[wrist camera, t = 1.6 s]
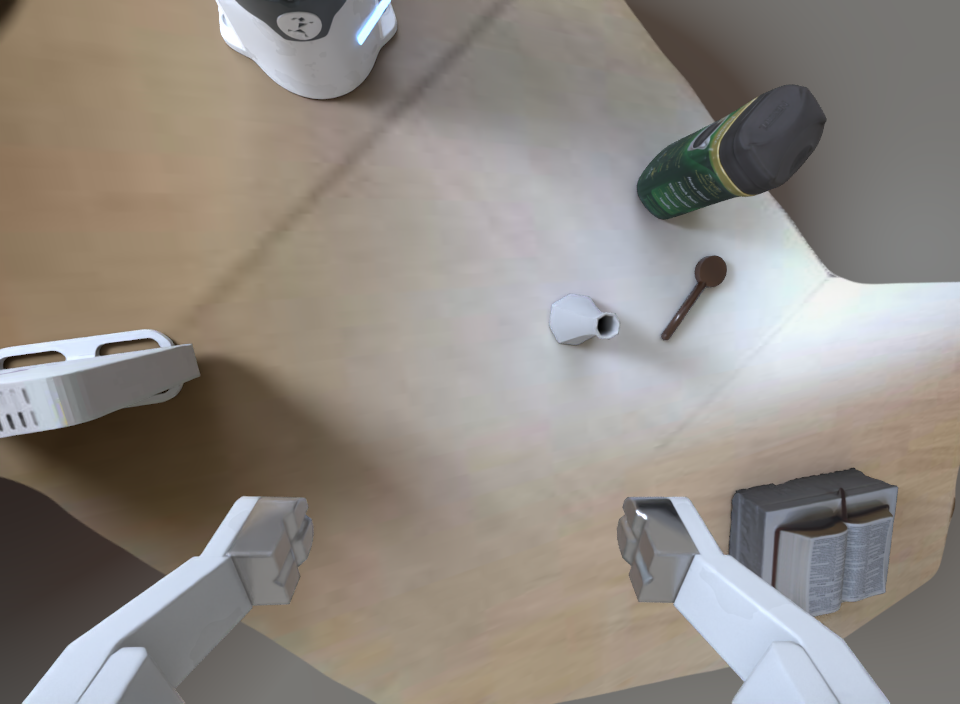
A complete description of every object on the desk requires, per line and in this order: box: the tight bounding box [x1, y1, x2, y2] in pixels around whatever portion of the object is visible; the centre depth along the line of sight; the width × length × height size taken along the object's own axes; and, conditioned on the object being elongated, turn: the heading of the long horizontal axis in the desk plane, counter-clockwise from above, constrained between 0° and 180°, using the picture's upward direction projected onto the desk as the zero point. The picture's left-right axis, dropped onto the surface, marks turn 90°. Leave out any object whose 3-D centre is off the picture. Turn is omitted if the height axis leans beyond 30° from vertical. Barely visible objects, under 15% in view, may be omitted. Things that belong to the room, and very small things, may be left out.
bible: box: [729, 468, 898, 617], centre depth 63 cm, size 23×27×10 cm
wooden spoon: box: [661, 256, 727, 340], centre depth 57 cm, size 14×4×1 cm, turn 145°
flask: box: [549, 294, 620, 345], centre depth 51 cm, size 7×7×10 cm
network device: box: [0, 329, 200, 438], centre depth 36 cm, size 26×9×20 cm, turn 97°
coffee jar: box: [637, 85, 826, 219], centre depth 46 cm, size 10×8×19 cm
